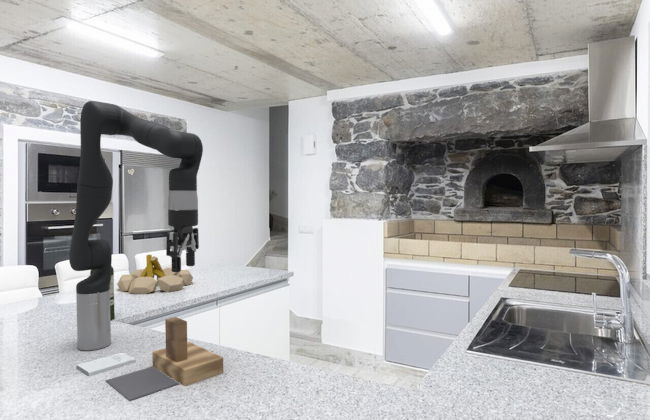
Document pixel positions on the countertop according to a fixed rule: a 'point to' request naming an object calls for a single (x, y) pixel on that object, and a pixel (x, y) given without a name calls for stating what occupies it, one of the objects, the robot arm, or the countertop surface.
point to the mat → (141, 383)
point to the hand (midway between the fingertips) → (183, 268)
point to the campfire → (146, 283)
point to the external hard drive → (105, 364)
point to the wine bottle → (112, 314)
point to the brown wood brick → (176, 339)
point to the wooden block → (189, 364)
